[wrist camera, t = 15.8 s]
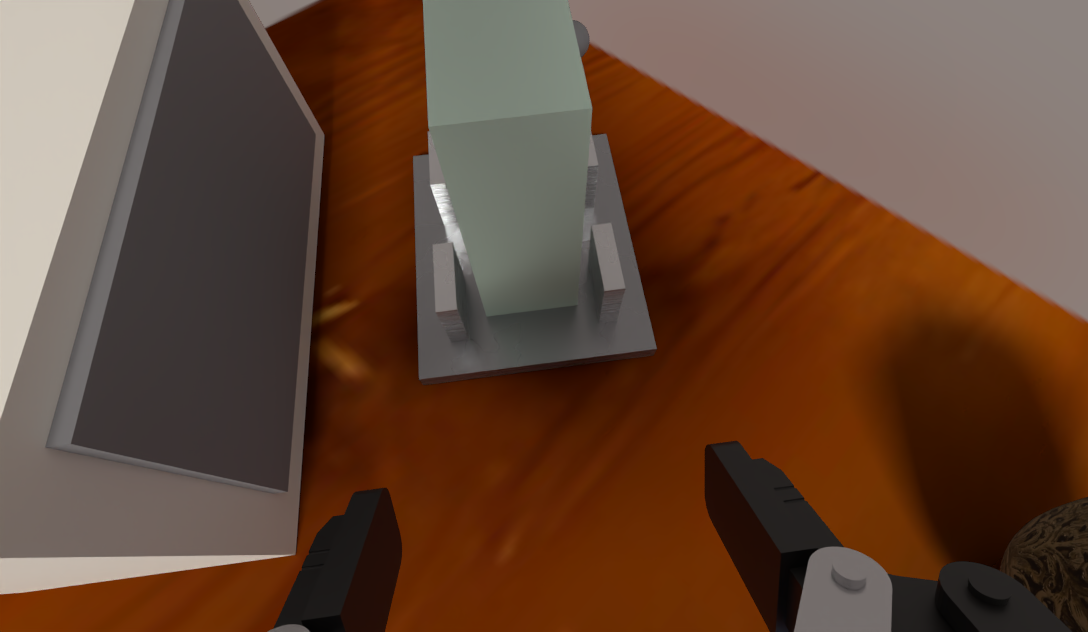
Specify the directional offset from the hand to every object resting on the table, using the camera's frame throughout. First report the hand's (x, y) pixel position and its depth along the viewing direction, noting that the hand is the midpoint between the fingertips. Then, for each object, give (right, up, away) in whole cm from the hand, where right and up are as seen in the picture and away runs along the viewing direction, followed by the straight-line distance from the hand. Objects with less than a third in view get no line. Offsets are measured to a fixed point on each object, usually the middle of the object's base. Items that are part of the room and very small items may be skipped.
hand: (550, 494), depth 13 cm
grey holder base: (-1, +8, +12) cm, 14 cm away
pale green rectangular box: (-1, +8, +11) cm, 14 cm away
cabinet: (-16, +4, +11) cm, 20 cm away
